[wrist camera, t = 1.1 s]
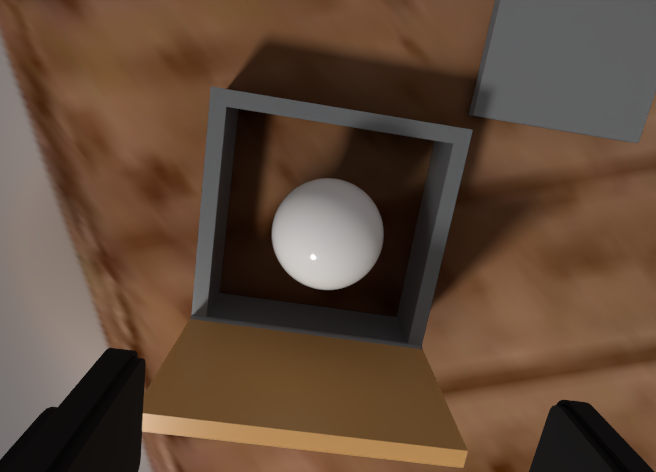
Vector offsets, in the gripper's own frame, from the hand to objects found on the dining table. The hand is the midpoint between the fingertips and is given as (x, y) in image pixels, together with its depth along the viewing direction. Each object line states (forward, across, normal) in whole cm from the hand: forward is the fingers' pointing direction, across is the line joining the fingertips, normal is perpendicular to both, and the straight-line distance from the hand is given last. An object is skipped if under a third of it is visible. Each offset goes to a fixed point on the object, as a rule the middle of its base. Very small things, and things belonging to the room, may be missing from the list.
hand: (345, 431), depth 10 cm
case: (+24, 0, +1) cm, 24 cm away
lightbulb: (+24, 0, 0) cm, 24 cm away
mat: (+24, -15, -14) cm, 32 cm away
